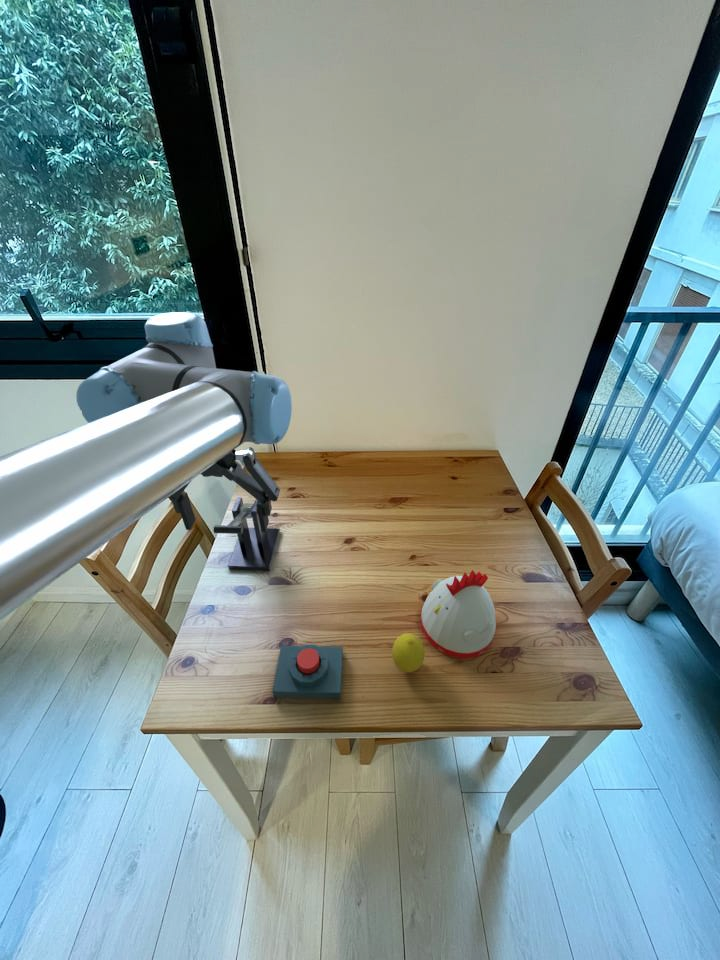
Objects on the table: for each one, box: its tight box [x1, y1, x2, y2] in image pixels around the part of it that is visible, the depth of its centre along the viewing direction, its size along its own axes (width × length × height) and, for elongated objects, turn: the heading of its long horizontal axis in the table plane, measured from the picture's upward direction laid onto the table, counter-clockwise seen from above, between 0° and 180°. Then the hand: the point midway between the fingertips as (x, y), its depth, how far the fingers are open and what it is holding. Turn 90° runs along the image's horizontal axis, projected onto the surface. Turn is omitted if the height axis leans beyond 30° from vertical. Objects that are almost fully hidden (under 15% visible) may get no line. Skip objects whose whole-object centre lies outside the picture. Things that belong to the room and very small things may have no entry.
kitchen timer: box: [419, 569, 497, 659], centre depth 74 cm, size 14×14×15 cm
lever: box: [213, 502, 254, 535], centre depth 81 cm, size 14×5×2 cm, turn 178°
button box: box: [272, 644, 344, 700], centre depth 69 cm, size 11×8×4 cm
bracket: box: [227, 496, 281, 572], centre depth 89 cm, size 12×9×14 cm
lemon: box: [391, 633, 426, 673], centre depth 70 cm, size 6×6×8 cm
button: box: [297, 648, 319, 674], centre depth 68 cm, size 4×4×2 cm
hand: (228, 526), depth 74 cm, fingers open, 13 cm apart
